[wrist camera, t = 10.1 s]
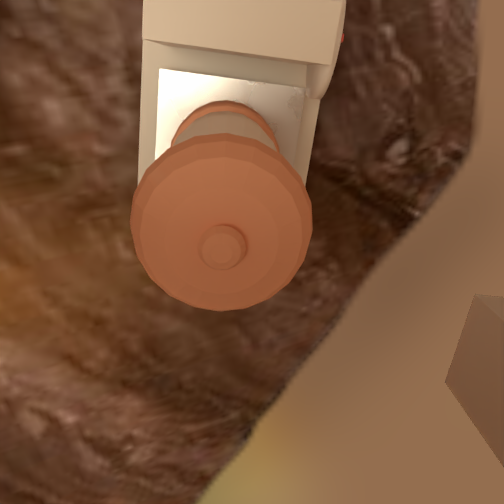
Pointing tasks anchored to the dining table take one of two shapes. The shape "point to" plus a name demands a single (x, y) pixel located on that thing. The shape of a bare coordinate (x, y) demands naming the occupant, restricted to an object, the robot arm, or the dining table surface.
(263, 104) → the scale pan
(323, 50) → the scale base
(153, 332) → the dining table surface
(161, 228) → the salt shaker
